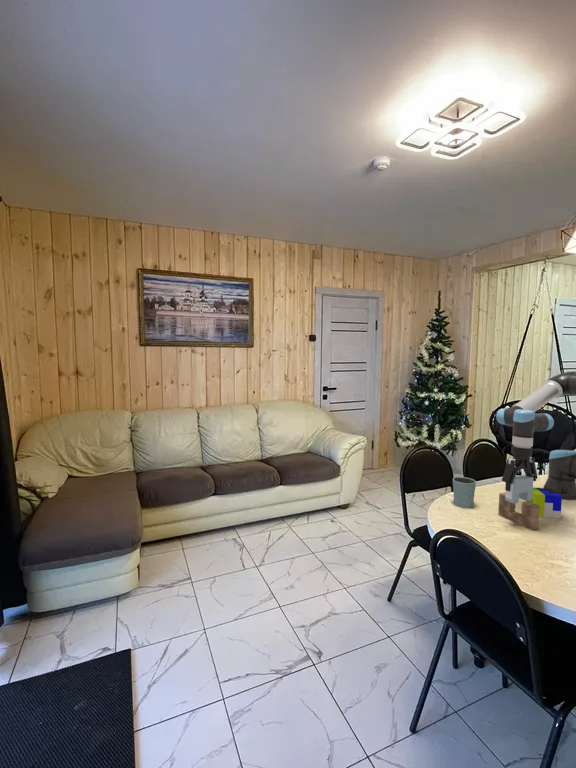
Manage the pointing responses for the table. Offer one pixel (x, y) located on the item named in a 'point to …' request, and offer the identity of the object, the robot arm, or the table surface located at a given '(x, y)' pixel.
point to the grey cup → (464, 491)
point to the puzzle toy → (547, 502)
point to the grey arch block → (521, 489)
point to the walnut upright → (525, 518)
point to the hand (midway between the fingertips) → (518, 496)
